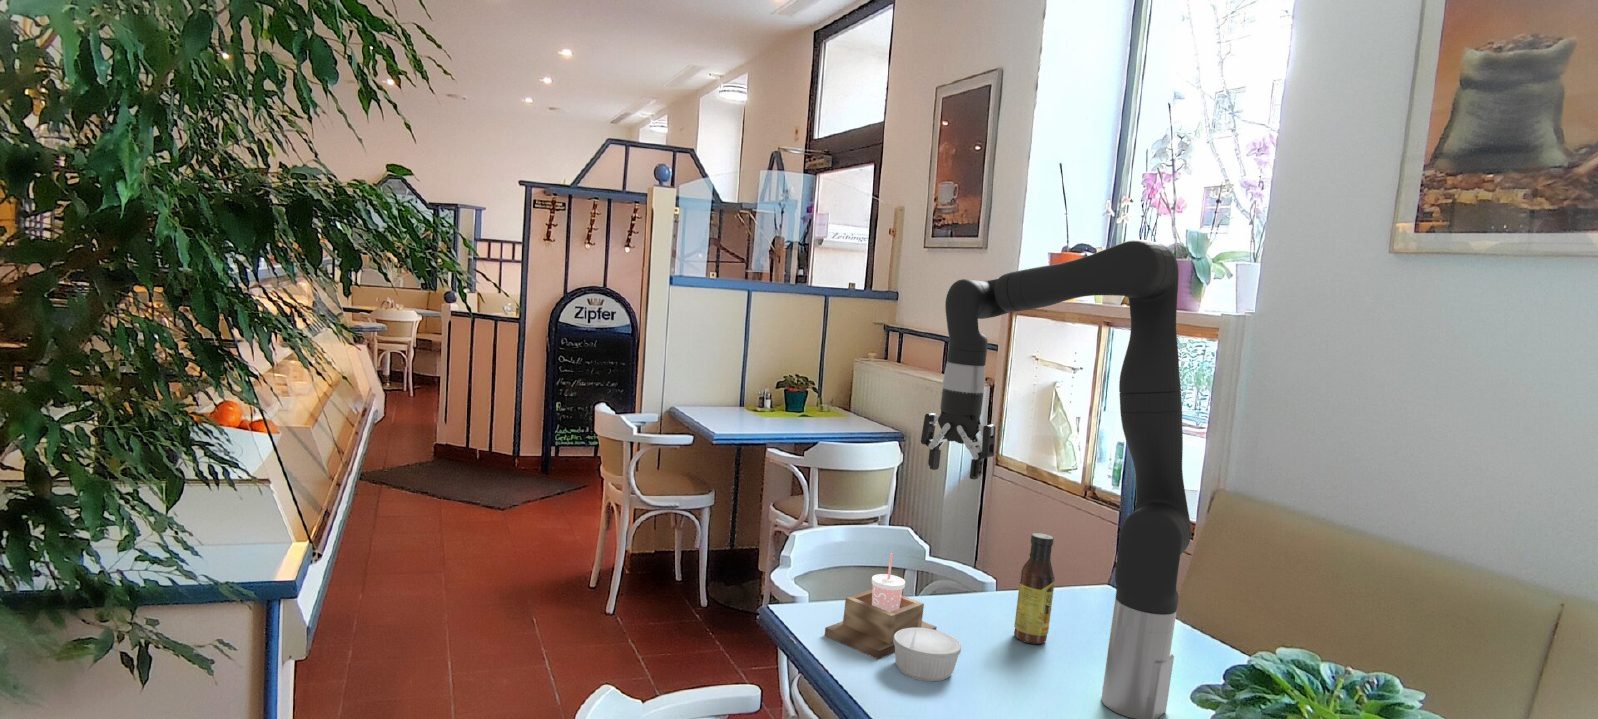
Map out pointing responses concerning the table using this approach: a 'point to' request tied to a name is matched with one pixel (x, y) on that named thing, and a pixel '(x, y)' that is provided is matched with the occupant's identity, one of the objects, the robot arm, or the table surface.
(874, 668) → the table surface
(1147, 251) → the robot arm
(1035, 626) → the sauce bottle
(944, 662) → the ramekin
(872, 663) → the table surface
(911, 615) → the cup holder
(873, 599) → the beverage cup
